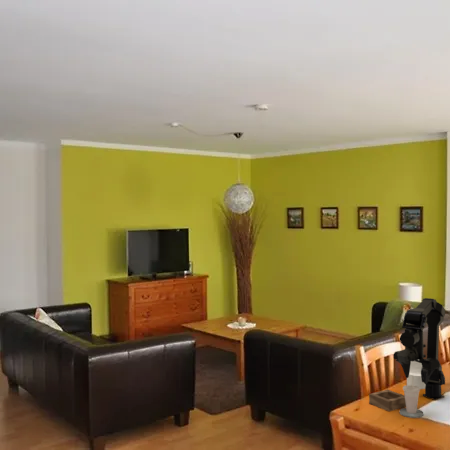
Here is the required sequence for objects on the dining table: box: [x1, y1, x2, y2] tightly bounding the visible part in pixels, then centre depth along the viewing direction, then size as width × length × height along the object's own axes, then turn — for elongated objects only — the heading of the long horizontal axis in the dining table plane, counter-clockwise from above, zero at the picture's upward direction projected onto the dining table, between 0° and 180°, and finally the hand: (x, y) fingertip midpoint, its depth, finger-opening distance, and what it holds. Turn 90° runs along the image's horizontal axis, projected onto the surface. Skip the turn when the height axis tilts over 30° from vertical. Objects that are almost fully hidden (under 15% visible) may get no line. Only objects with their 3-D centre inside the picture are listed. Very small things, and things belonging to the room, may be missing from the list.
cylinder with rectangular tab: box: [406, 361, 426, 390], centre depth 249 cm, size 9×9×12 cm
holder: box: [368, 389, 406, 412], centre depth 224 cm, size 11×11×4 cm
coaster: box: [399, 407, 424, 419], centre depth 214 cm, size 9×9×1 cm
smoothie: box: [402, 377, 421, 413], centre depth 214 cm, size 6×6×14 cm
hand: (416, 380), depth 215 cm, fingers open, 9 cm apart
